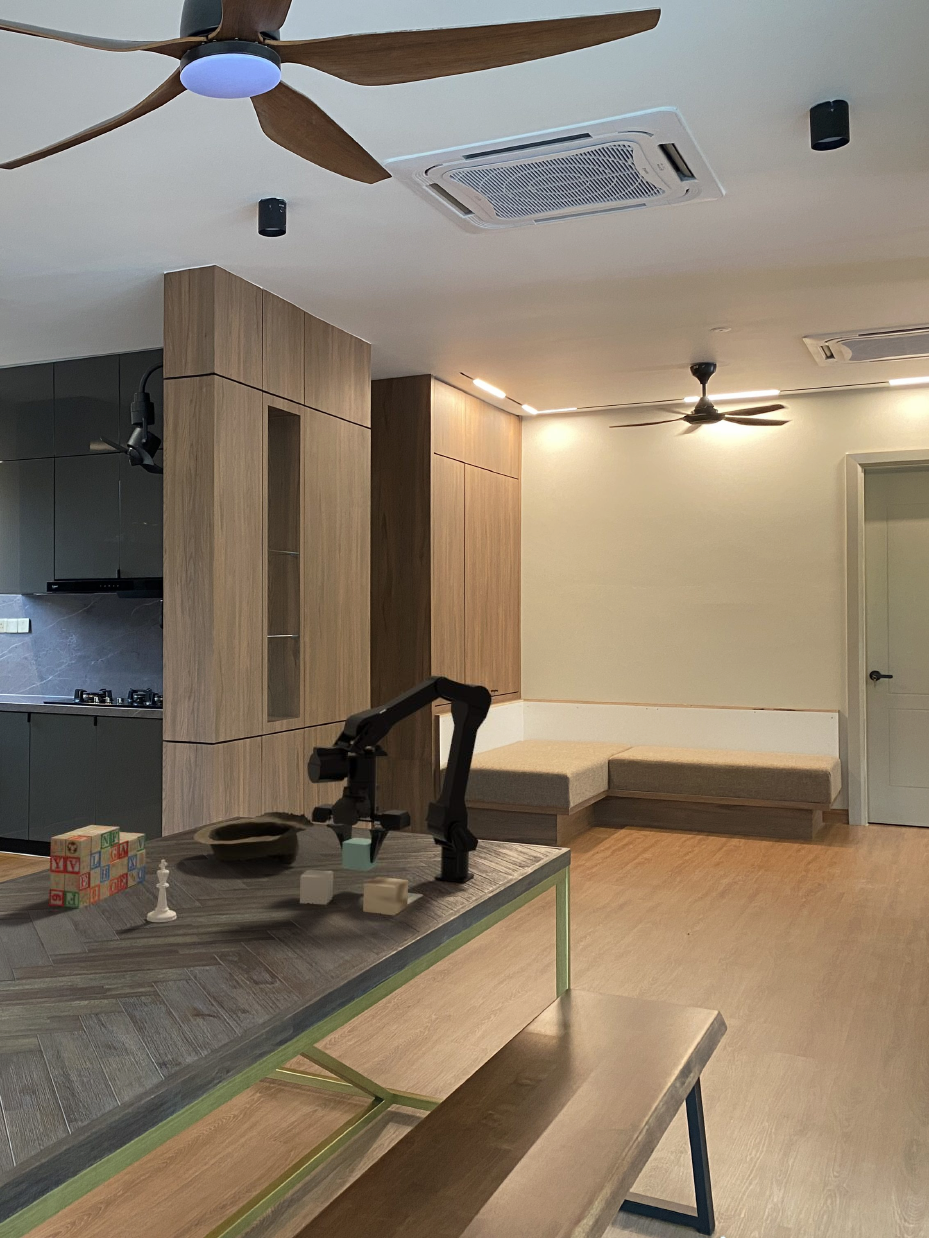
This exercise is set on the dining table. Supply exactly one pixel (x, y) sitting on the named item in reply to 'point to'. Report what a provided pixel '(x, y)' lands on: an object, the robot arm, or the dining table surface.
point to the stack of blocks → (94, 864)
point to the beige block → (316, 887)
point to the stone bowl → (256, 837)
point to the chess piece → (162, 899)
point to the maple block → (385, 895)
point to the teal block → (357, 854)
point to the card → (413, 897)
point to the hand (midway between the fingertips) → (359, 861)
